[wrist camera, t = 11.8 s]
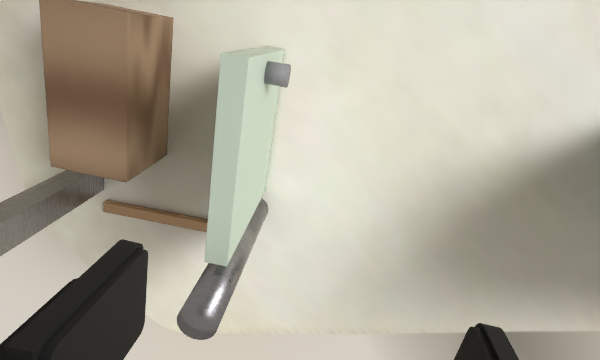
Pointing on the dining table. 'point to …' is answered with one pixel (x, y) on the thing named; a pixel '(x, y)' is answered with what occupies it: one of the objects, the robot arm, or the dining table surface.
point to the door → (242, 143)
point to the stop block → (105, 87)
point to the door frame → (80, 187)
